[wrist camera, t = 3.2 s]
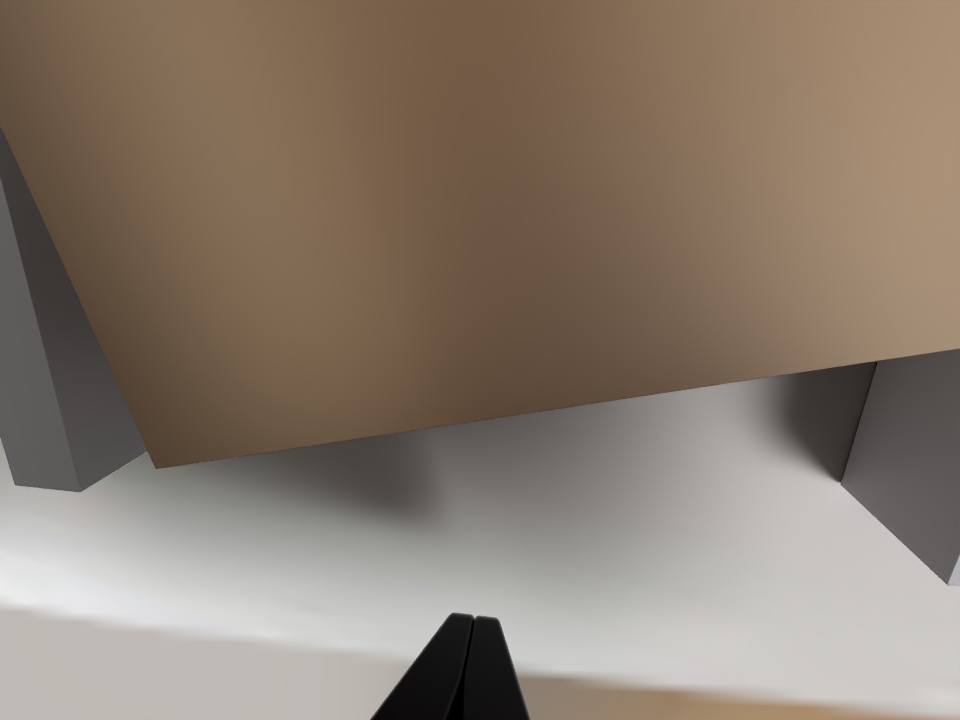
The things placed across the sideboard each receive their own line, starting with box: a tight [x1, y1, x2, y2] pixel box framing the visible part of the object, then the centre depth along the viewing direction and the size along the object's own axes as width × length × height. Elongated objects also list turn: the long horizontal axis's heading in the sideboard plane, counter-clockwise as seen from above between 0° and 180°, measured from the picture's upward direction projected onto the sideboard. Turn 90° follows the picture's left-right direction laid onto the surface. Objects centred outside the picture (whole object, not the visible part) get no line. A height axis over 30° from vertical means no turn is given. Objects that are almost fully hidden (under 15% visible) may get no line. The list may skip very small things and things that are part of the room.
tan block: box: [0, 0, 960, 469], centre depth 6 cm, size 10×7×4 cm
